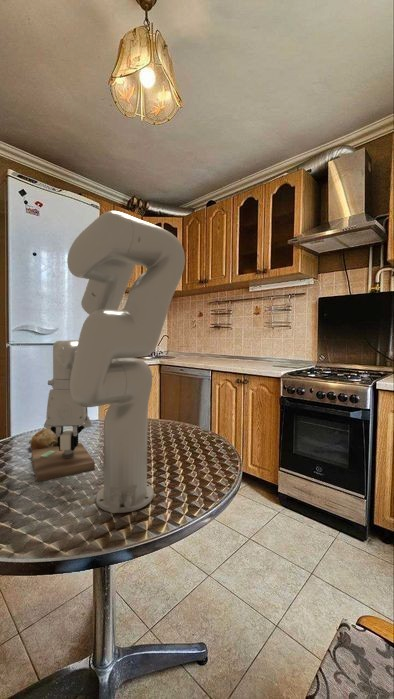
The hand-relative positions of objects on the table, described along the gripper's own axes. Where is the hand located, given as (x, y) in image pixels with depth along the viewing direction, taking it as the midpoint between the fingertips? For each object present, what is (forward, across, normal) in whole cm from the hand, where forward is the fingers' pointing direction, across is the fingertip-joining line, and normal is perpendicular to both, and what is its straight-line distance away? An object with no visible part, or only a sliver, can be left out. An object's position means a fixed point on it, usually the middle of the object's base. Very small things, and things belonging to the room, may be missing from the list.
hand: (68, 448), depth 85 cm
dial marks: (+3, -4, +4) cm, 6 cm away
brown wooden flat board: (+5, -2, +1) cm, 5 cm away
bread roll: (+5, -11, +14) cm, 18 cm away
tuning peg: (+2, 0, +2) cm, 3 cm away
